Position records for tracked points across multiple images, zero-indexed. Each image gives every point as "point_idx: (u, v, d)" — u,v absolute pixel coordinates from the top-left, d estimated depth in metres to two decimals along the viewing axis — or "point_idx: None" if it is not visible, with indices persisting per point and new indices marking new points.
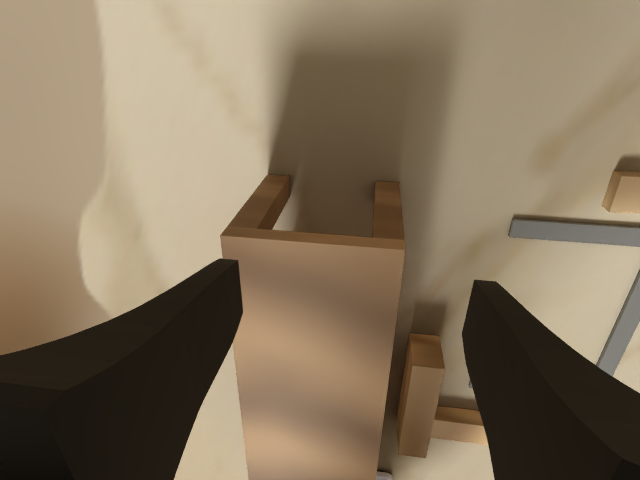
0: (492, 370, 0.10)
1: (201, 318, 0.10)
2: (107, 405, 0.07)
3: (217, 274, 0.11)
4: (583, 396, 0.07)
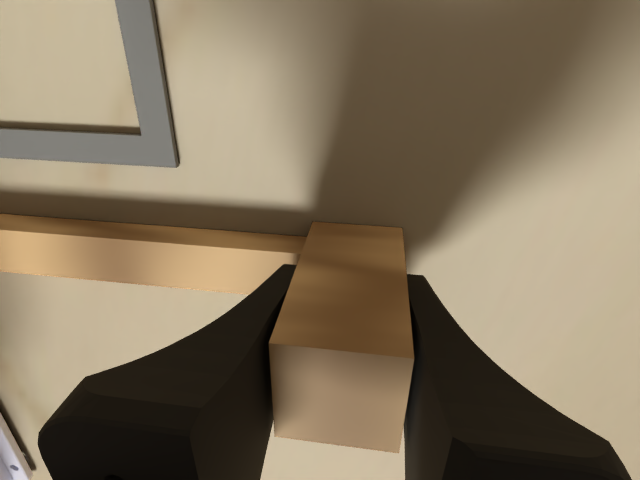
0: None
1: None
2: (224, 421, 0.07)
3: (290, 280, 0.11)
4: (457, 382, 0.07)
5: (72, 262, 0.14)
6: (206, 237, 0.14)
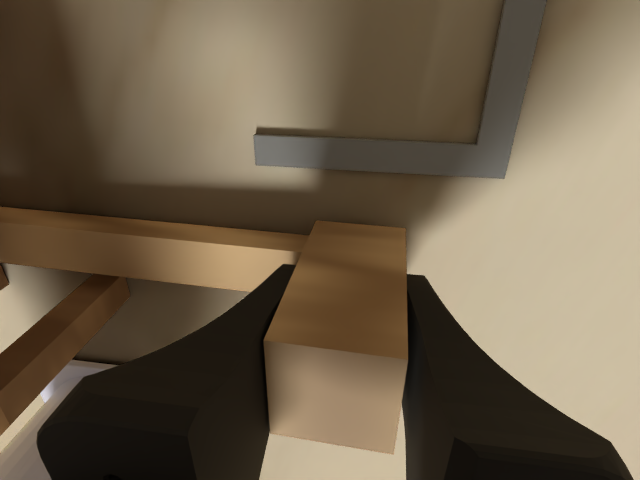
0: (408, 361, 0.10)
1: None
2: (222, 420, 0.07)
3: (289, 280, 0.11)
4: (458, 382, 0.07)
5: (80, 256, 0.15)
6: (210, 234, 0.14)
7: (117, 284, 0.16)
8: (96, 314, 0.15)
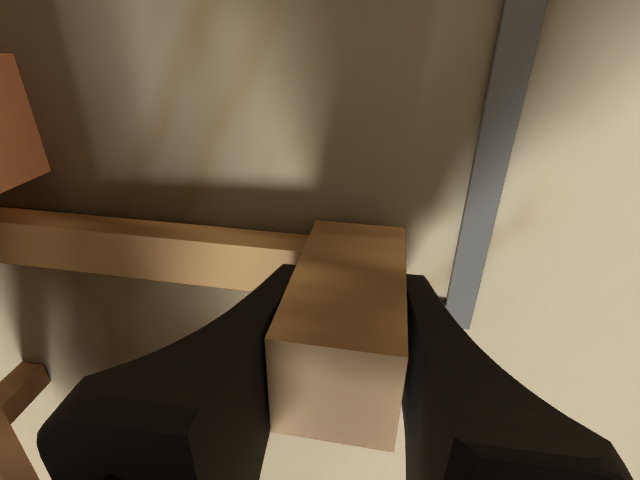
0: (408, 361, 0.10)
1: None
2: (222, 420, 0.07)
3: (289, 280, 0.11)
4: (458, 382, 0.07)
5: (81, 256, 0.15)
6: (211, 234, 0.14)
7: None
8: None
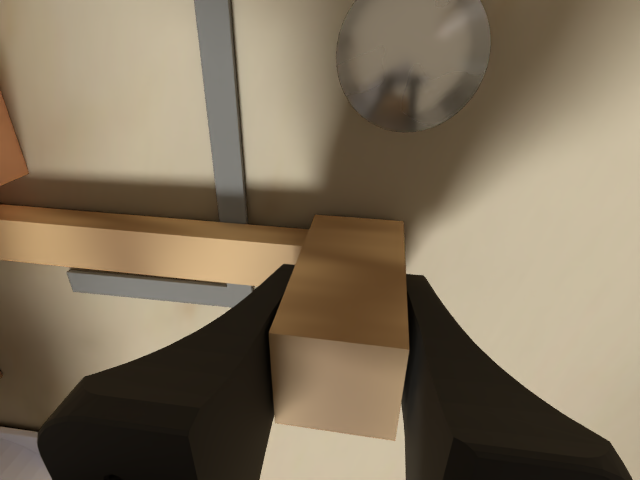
0: (408, 361, 0.10)
1: None
2: (223, 420, 0.07)
3: None
4: (457, 382, 0.07)
5: (81, 253, 0.15)
6: (211, 229, 0.14)
7: None
8: None
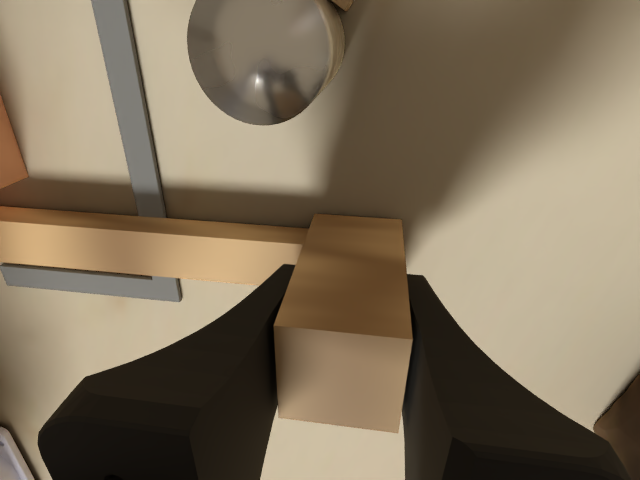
0: None
1: None
2: (224, 421, 0.07)
3: (289, 280, 0.11)
4: (457, 382, 0.07)
5: (80, 253, 0.15)
6: (211, 229, 0.14)
7: None
8: None
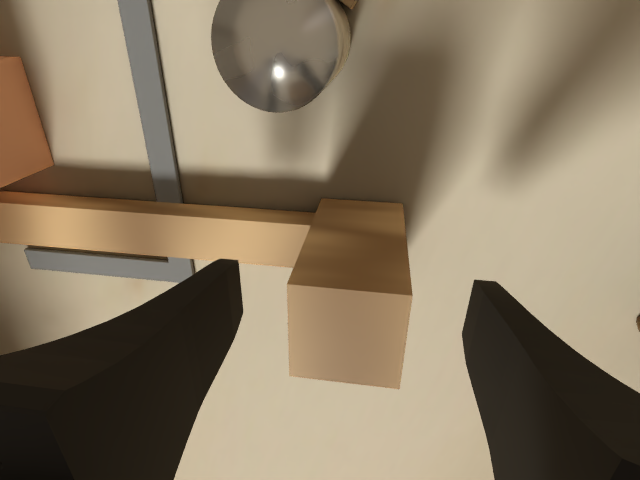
0: (492, 370, 0.10)
1: (201, 318, 0.10)
2: (107, 405, 0.07)
3: (217, 274, 0.11)
4: (583, 396, 0.07)
5: (102, 236, 0.16)
6: (225, 212, 0.15)
7: None
8: None
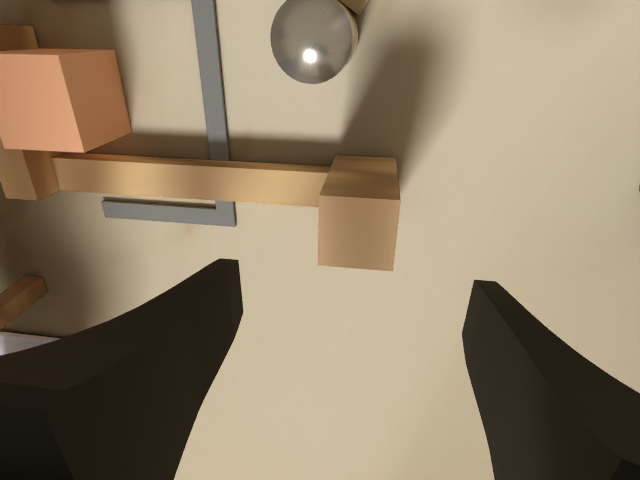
0: (492, 370, 0.10)
1: (201, 318, 0.10)
2: (107, 405, 0.07)
3: (217, 274, 0.11)
4: (583, 396, 0.07)
5: (170, 185, 0.21)
6: (263, 166, 0.21)
7: (36, 284, 0.27)
8: (20, 302, 0.26)
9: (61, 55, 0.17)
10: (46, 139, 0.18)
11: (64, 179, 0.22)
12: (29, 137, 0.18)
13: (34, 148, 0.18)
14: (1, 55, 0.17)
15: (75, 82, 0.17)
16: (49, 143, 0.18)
